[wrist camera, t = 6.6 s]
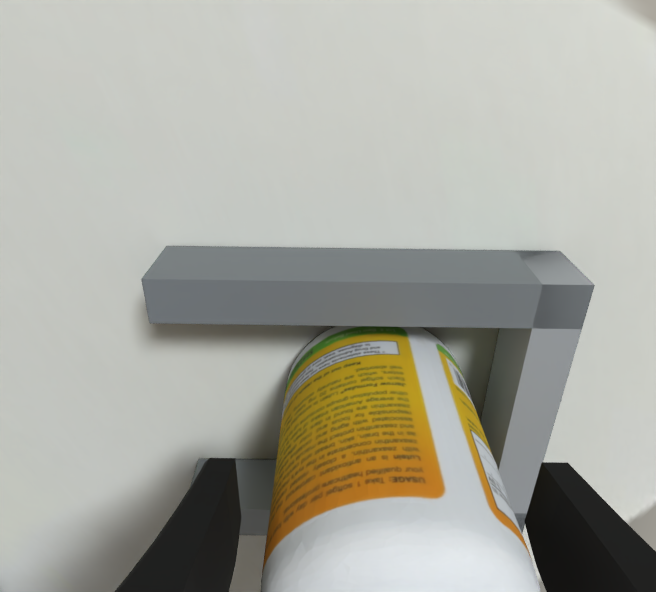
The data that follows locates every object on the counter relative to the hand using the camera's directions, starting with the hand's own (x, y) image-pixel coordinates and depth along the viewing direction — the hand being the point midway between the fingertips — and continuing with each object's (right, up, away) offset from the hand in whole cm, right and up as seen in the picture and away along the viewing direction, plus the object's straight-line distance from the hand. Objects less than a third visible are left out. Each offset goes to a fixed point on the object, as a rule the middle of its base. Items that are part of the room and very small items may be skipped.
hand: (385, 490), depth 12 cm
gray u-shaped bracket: (0, +2, +4) cm, 4 cm away
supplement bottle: (0, +2, +4) cm, 4 cm away
